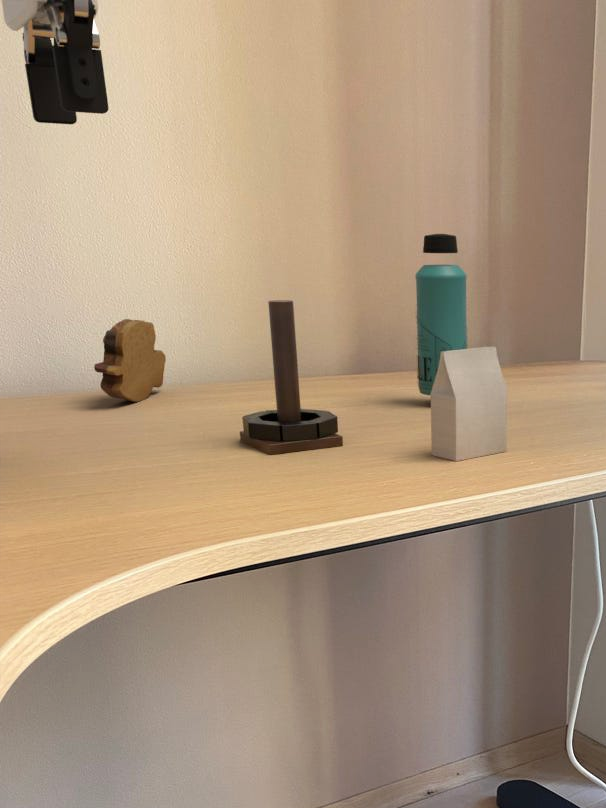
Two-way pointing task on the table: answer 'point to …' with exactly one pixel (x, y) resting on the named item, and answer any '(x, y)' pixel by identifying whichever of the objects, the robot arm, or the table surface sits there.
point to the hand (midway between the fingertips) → (70, 117)
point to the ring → (290, 426)
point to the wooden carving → (131, 361)
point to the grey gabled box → (468, 405)
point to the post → (287, 383)
